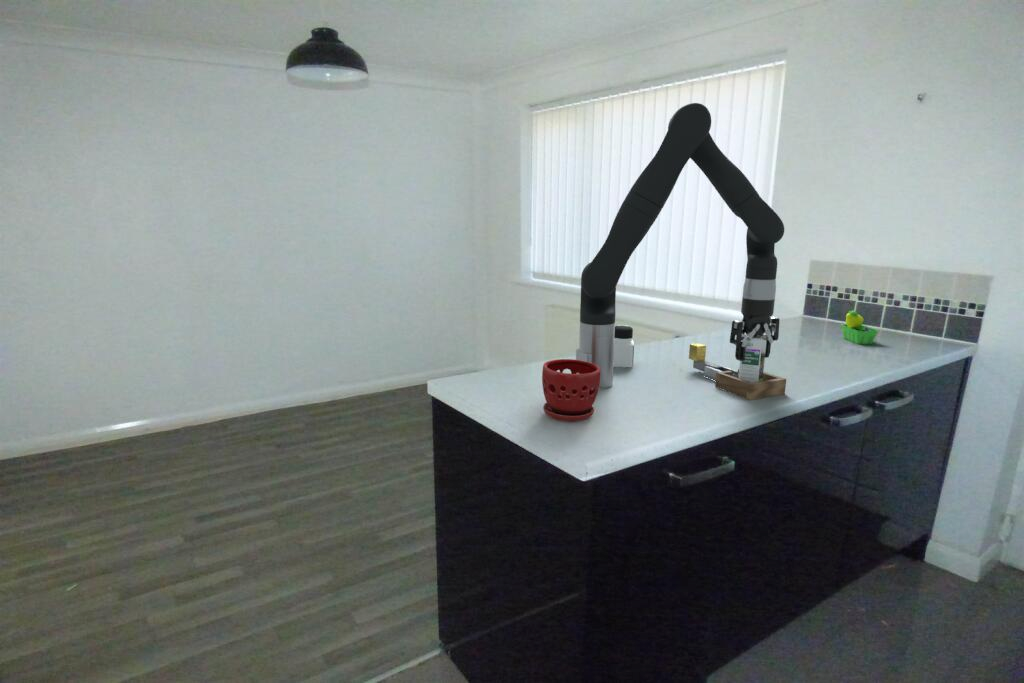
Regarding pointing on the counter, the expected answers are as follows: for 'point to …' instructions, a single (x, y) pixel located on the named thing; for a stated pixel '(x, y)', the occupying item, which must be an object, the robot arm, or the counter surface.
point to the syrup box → (753, 360)
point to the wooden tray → (751, 385)
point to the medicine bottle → (623, 346)
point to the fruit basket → (857, 329)
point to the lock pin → (700, 357)
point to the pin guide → (711, 371)
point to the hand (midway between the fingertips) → (752, 358)
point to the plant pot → (570, 389)
